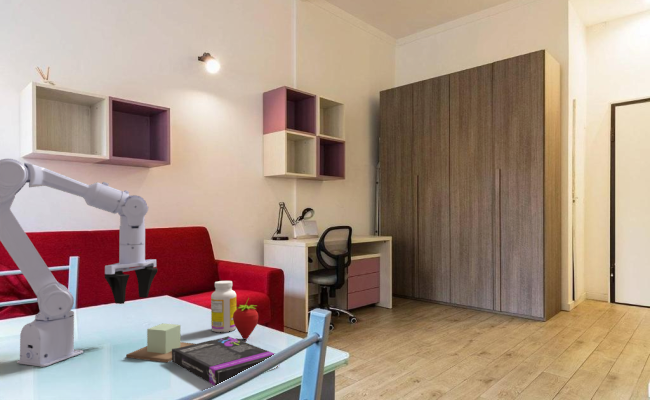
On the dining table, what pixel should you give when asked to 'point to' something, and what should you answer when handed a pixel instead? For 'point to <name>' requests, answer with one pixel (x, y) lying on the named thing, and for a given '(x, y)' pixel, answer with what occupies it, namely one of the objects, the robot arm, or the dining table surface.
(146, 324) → the dining table surface
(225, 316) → the supplement bottle
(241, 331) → the strawberry
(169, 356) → the walnut board
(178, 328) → the sage cube
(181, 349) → the box
